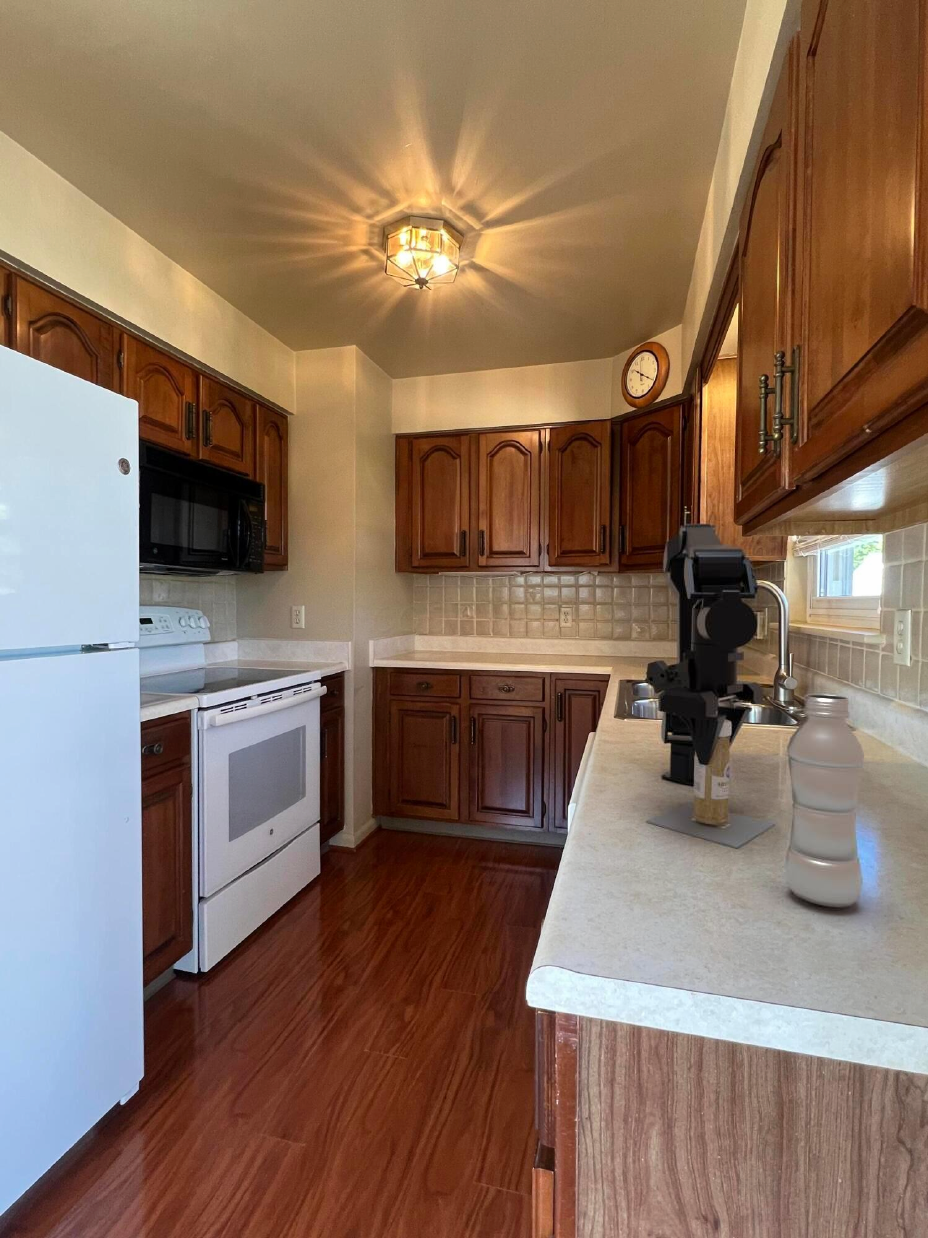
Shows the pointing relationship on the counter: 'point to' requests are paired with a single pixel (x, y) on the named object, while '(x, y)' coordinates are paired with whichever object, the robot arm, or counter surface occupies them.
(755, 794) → the counter surface
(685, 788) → the counter surface
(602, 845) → the counter surface
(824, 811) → the plastic bottle
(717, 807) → the sprinkles bottle
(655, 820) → the mat
